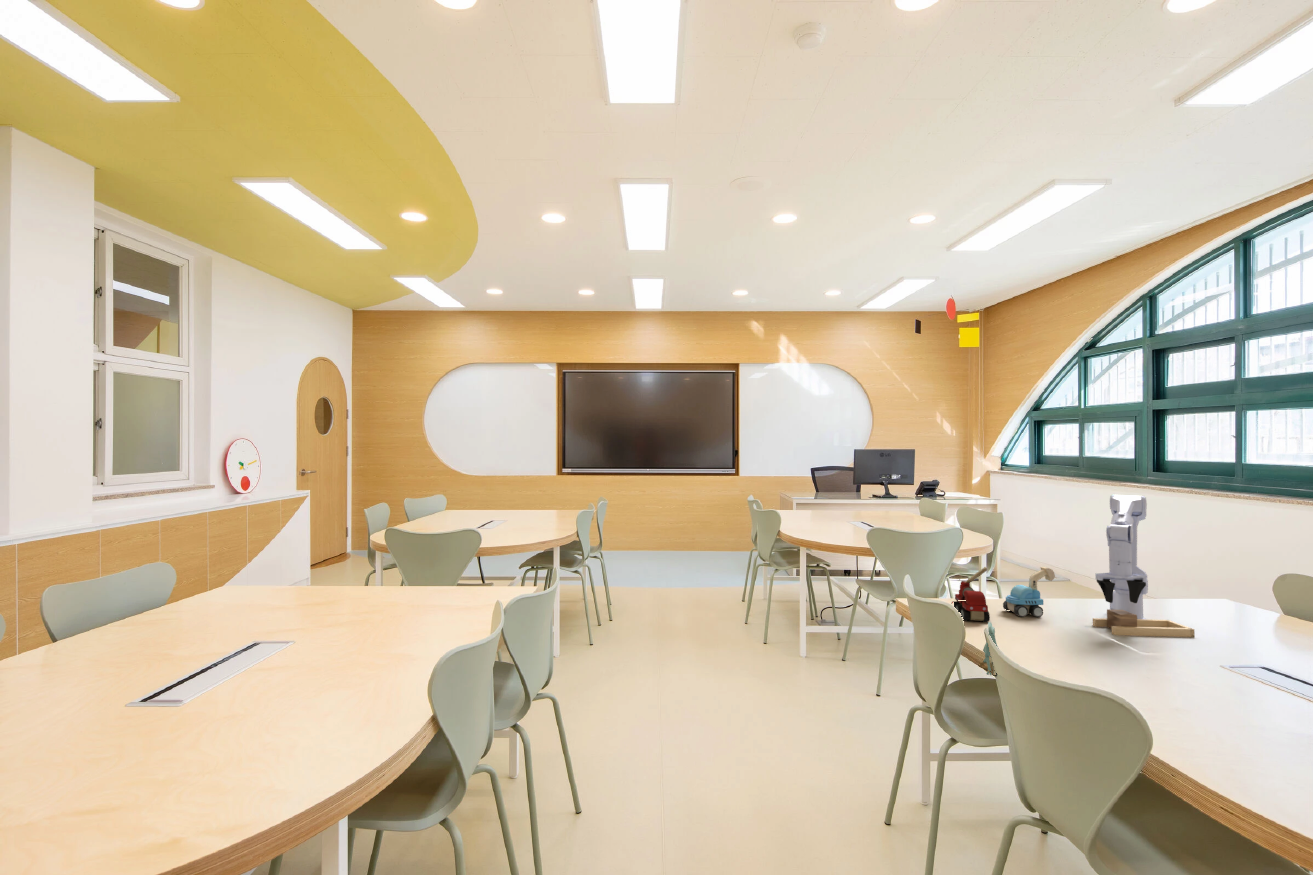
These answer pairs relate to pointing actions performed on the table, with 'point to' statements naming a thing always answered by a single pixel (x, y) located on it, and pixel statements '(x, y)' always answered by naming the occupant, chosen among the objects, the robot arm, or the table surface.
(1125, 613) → the box
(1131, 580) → the robot arm
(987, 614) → the toy fire truck
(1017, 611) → the toy excavator
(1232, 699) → the table surface
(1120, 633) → the bay
